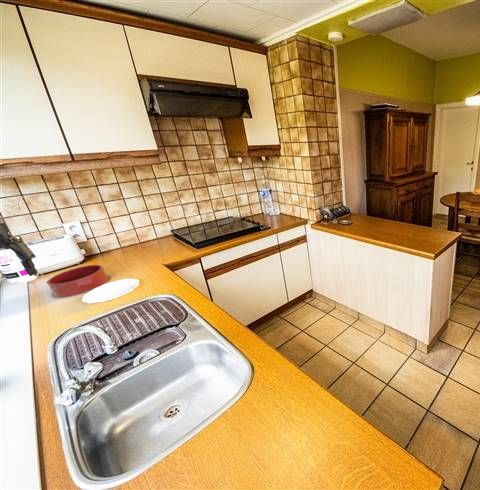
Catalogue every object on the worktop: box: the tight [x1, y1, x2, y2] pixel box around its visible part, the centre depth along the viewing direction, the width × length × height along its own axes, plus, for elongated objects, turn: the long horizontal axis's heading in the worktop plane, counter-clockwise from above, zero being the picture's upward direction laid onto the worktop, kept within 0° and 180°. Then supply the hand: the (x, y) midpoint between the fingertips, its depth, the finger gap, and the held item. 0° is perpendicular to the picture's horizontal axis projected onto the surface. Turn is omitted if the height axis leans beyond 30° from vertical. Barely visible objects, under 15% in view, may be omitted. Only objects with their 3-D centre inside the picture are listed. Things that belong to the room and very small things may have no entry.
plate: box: [81, 278, 140, 304], centre depth 128 cm, size 21×21×2 cm
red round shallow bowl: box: [46, 264, 109, 298], centre depth 135 cm, size 20×20×7 cm
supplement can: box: [0, 247, 39, 285], centre depth 110 cm, size 8×8×15 cm
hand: (22, 275), depth 112 cm, fingers closed on supplement can, 8 cm apart
